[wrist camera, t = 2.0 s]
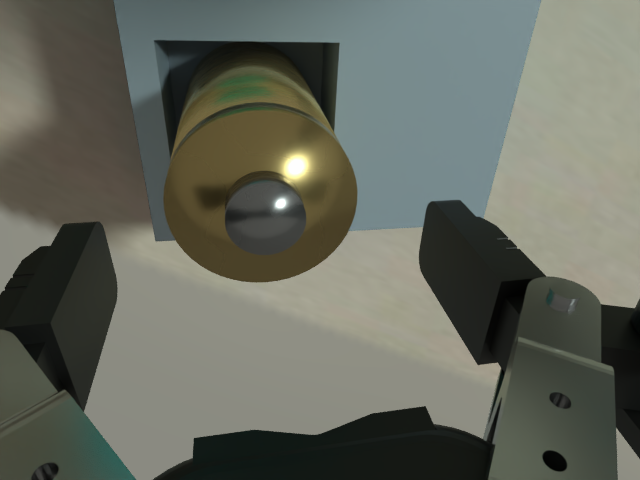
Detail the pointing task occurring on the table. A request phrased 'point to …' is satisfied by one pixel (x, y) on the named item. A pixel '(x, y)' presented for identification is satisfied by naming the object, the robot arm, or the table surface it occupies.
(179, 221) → the gold battery
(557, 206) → the table surface
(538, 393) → the robot arm
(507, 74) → the housing
